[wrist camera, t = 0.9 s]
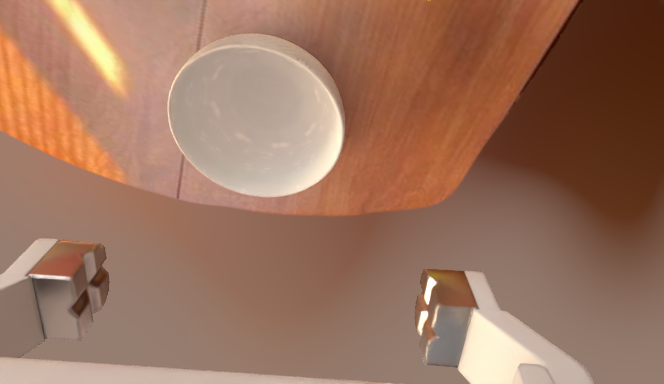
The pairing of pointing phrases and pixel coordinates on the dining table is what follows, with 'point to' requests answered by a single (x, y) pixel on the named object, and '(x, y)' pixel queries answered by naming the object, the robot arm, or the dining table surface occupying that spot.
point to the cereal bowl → (257, 115)
